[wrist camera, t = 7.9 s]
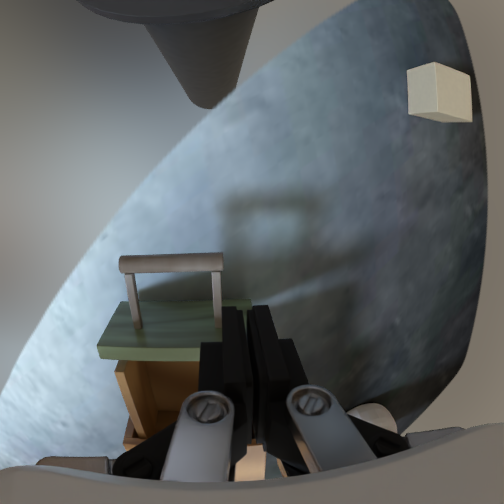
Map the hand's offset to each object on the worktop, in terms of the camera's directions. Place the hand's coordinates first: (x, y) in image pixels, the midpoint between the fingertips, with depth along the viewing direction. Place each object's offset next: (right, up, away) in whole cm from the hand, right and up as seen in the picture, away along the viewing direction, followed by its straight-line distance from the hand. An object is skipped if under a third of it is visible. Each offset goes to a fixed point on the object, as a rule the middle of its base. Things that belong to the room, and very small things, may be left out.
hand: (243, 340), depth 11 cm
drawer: (-6, -5, +16) cm, 17 cm away
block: (+16, +18, +11) cm, 27 cm away
